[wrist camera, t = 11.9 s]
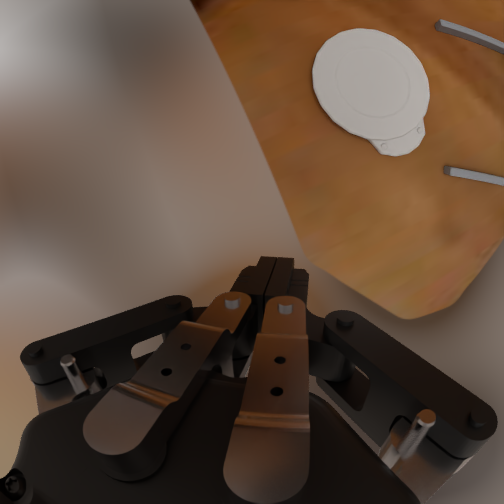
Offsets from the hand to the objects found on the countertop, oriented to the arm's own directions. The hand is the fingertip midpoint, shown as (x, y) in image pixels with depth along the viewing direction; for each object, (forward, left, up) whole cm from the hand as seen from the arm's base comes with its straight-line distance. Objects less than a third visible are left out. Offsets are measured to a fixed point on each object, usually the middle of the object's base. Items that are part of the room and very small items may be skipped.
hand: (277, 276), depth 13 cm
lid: (-14, +11, -32) cm, 36 cm away
